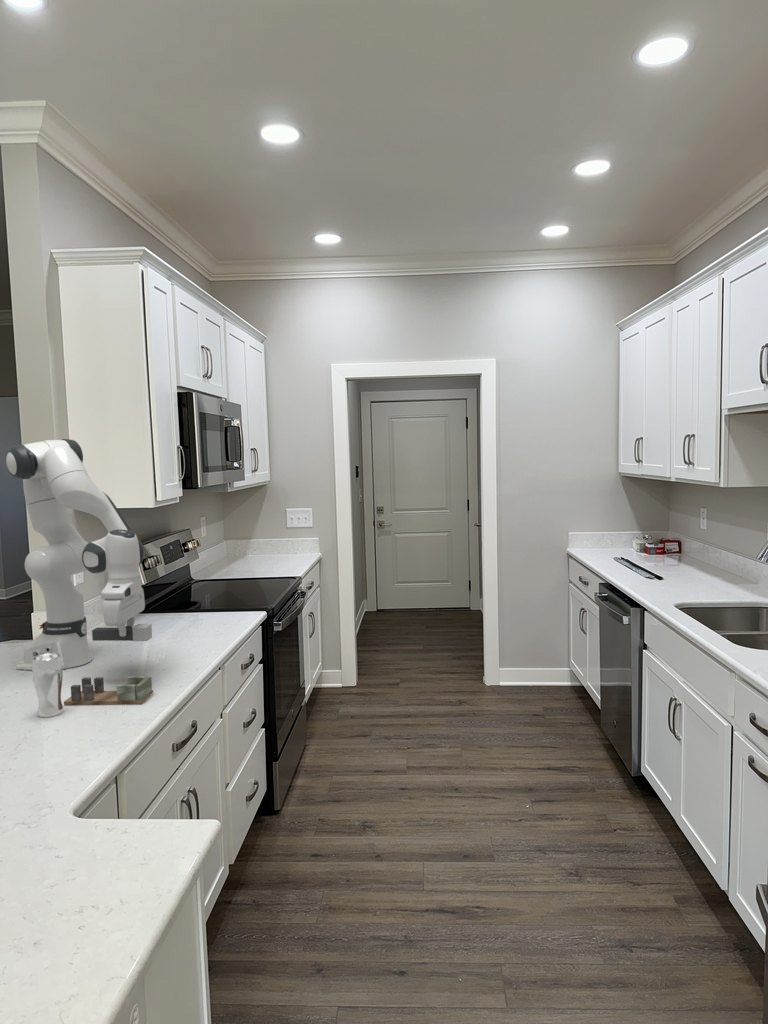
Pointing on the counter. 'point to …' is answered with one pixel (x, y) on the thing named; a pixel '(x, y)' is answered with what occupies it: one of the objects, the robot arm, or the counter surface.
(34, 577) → the robot arm
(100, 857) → the counter surface
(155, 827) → the counter surface
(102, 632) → the dark grey square bar
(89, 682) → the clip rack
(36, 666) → the beer glass
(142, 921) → the counter surface
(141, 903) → the counter surface
